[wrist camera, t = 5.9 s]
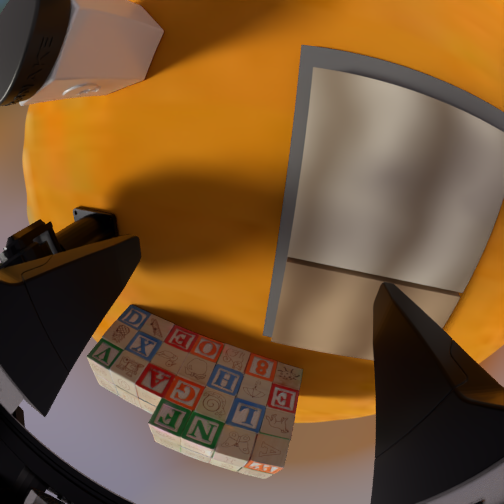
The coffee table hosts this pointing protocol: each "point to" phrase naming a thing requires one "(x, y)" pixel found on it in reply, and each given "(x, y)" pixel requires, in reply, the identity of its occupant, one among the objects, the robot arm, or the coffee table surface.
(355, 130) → the ash plank
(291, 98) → the coffee table surface
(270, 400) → the stack of blocks
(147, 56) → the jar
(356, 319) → the oak board
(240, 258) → the coffee table surface
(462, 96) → the underlay mat
